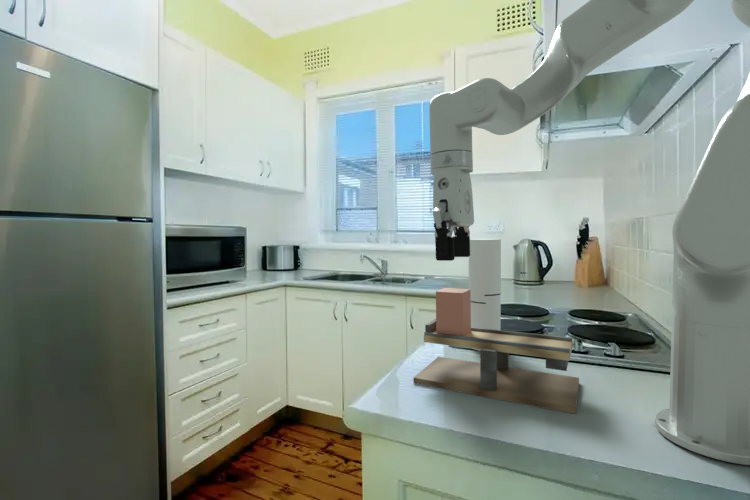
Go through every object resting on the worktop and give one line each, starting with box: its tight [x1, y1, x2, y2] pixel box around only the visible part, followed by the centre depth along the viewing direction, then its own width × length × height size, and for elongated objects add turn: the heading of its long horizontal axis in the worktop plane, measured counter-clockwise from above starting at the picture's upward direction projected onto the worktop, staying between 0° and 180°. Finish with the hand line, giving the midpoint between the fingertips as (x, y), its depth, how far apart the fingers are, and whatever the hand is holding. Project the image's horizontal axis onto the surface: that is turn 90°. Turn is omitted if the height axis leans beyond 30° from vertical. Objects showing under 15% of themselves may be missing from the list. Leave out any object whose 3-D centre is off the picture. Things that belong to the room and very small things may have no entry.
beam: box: [423, 318, 573, 372], centre depth 70 cm, size 24×8×5 cm, turn 61°
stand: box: [413, 348, 580, 415], centre depth 70 cm, size 26×13×8 cm, turn 61°
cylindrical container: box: [468, 238, 502, 352], centre depth 92 cm, size 7×7×25 cm
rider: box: [435, 287, 471, 336], centre depth 74 cm, size 5×5×8 cm
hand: (453, 258), depth 73 cm, fingers open, 9 cm apart
